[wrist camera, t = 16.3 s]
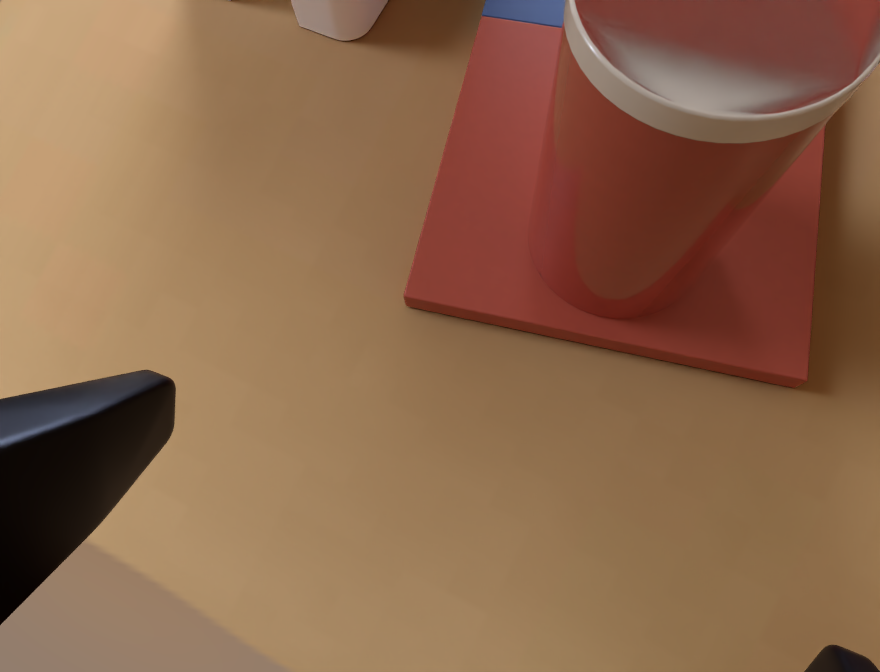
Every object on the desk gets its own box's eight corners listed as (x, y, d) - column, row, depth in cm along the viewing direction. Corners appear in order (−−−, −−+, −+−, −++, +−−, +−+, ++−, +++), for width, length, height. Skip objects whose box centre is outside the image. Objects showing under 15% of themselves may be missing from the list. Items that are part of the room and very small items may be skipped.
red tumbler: (742, 276, 23) (969, 44, 12) (576, 349, 22) (669, 169, 12) (650, 135, 25) (779, -167, 14) (496, 198, 24) (515, -68, 14)
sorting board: (794, 388, 22) (808, 381, 22) (405, 306, 24) (402, 296, 23) (834, -140, 30) (846, -162, 29) (538, -174, 32) (540, -197, 31)
